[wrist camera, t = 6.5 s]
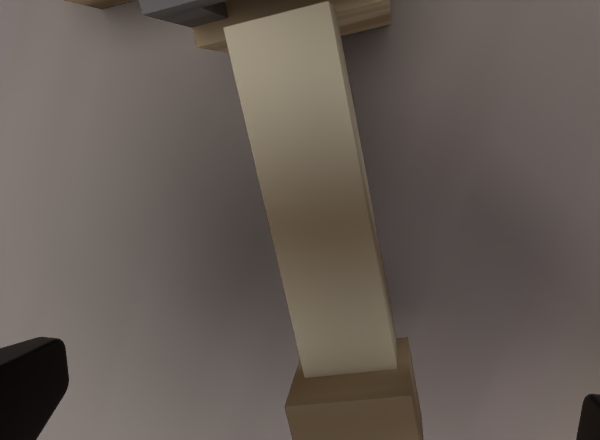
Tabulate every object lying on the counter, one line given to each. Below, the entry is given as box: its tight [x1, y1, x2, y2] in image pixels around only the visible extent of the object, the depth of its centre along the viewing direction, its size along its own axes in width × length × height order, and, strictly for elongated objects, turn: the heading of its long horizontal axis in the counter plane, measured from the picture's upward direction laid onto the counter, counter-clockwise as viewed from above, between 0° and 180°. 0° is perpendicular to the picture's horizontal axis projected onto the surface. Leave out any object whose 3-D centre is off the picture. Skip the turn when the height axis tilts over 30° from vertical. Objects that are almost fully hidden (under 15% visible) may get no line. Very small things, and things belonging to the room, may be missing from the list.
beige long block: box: [223, 1, 423, 440], centre depth 13 cm, size 11×3×3 cm, turn 12°
